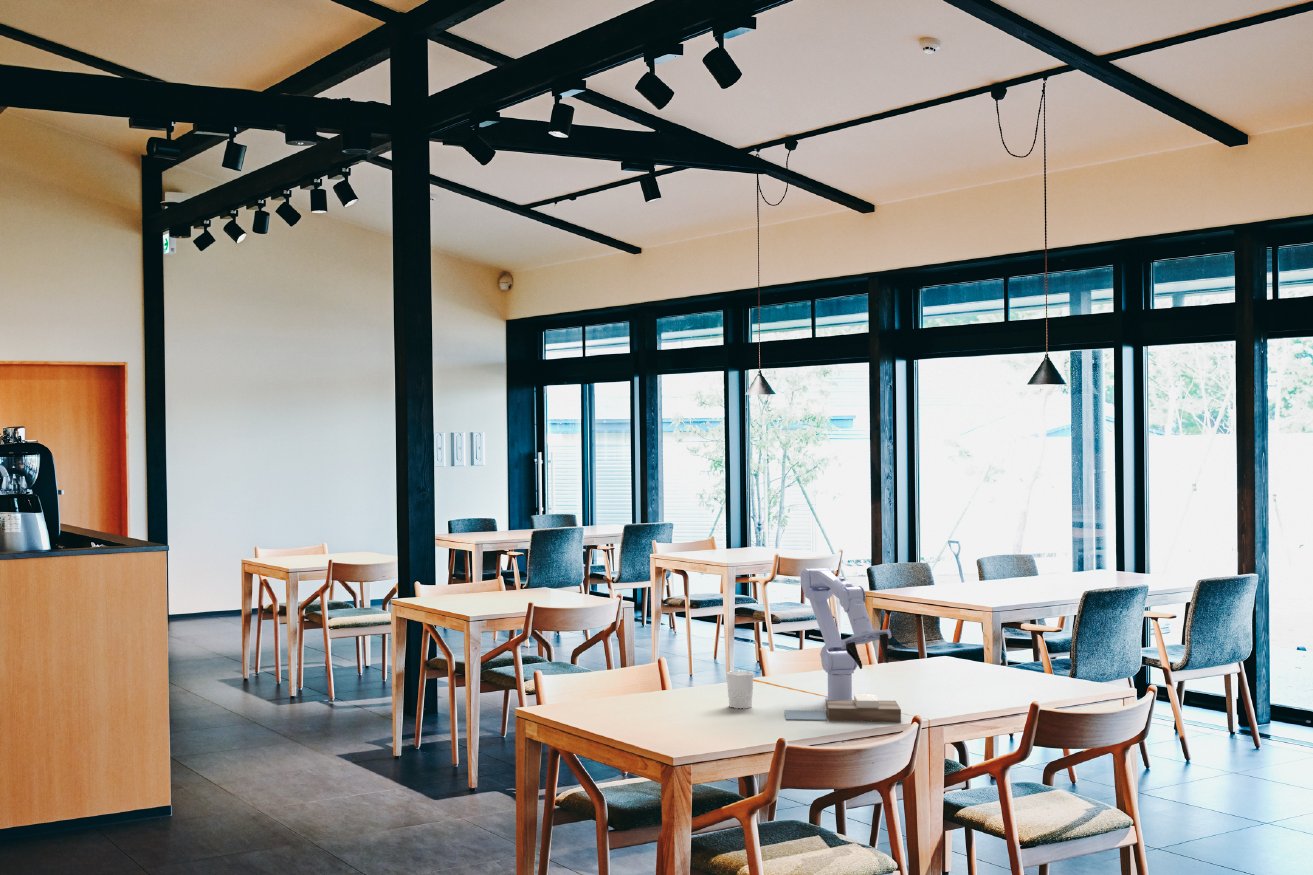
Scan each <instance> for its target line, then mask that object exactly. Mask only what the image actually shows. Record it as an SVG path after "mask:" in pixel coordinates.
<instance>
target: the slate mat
mask: <svg viewBox="0 0 1313 875" xmlns="http://www.w3.org/2000/svg"><path fill="white" fill-rule="evenodd" d="M784 716H785V721H810V722H811V721H812V722H816V721H820V722H821V721H823V722H827V721H828V717H827V713H826V710H816V709H815V710H813V709H808V710H807V709H804V710H803V709H784Z"/></svg>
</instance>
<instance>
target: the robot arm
mask: <svg viewBox="0 0 1313 875" xmlns="http://www.w3.org/2000/svg"><path fill="white" fill-rule="evenodd" d="M800 586H801V589H802V591H803V594H804V597H805V598H807V599H808V600H809V603H810V605H811V608H812V610H813V614H814V617H815V620H816V622H817V624H818V628H819V630H820V633H821V635H822V639H823V642H824V645H823V646H822V648H821V650H820V654H819V655H820V659H821V660H820V661H821V666H822V669H823V670H824V672H825V673H827V696H825V698H824V699H825V701H826V700H854V698H853V697H852V696H853V691H852V690H853V687H852V686H853V685H852V684H853V677H852V675H853V674H854V673H855V670H857V668H858V667H859V669H860V670H862V669H863V663H862V660H861V657H860V655H859V653H858V652H859V651H858V649H857V646H858V645H864V644H865V645H866V644H868V643H871V642H874V641H879V647H880V648H881V650H882V654H883V656H884V660H885V664H888V663H889V662H890V661H889V655H888V649H889V648H888V647H889V639H891V638H892V632H891V629H890V628H887V629H879V630H875V629H874V628H873V625H872V622H871V619H870V615H869V613H868V610H867V607H866V605H865V603H866V592H865V589H864V588H863V587H862V586H861V585H858V586H854V585H853V583H851V582H849V581H848V580H847V579H846V578H845V577H842V576H841V577H837V576H836V574H835V569H833V568H831V567H827V568H824V567H822V568H803V569H802V570H801V571H800ZM832 596H835V597H836V598H837V599H838V600H839V605H840V606H841V607H842V608H843V611H844V612H845V613H846V614H847V617H848V620H849V623H850V626H851V629H852V633H853V635H852V636H849V637H846V638H844V639H842V637H841V634H840V632H839V629H838V627H837V623H836V621H835V619H834V616H833V613H832V610H831V608H830V605H829V602H828V600H829V599H830V598H832Z"/></svg>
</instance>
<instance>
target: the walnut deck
mask: <svg viewBox="0 0 1313 875" xmlns="http://www.w3.org/2000/svg"><path fill="white" fill-rule="evenodd" d="M878 701H879V708H857V706H856V704H855V702H854V699H853V700H826V699H825V714H826V717H827V721H828V722H872V723H873V722H874V723H875V722H877V723H878V722H883V723H885V722H887V723H890V722H891V723H895V722H896V723H897V722H898V723H902V709H901V707H900V706H899V704H898V702H897V701H896V700H878Z"/></svg>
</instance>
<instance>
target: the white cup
mask: <svg viewBox="0 0 1313 875" xmlns="http://www.w3.org/2000/svg"><path fill="white" fill-rule="evenodd" d="M726 680H727V697H728V705H729V706H730V707H729V706H728V707H729V708H731V707H734V708H733V709H738V708H740V709H739V710H741V708H743V710H744V709H750V708H752V703H753V701H752V700H753V690H754V672H753V671H748V670H732V671H731V670H730V671H727V672H726Z"/></svg>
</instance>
